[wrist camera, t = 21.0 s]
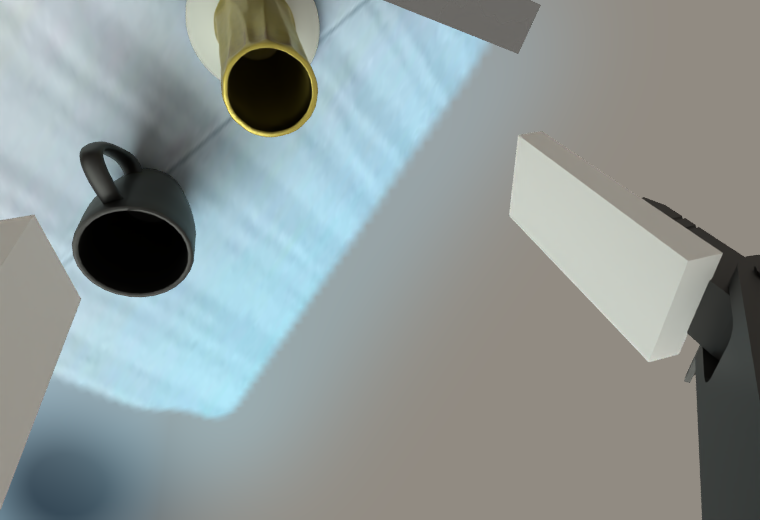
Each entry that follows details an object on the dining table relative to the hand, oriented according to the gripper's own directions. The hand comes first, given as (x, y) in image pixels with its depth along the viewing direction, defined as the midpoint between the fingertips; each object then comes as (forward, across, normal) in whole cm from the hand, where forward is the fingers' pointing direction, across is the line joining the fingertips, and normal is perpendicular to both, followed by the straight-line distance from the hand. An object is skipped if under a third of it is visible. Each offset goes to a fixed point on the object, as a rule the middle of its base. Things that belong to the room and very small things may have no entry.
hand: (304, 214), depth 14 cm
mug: (+31, -12, -11) cm, 35 cm away
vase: (+30, 0, 0) cm, 30 cm away
